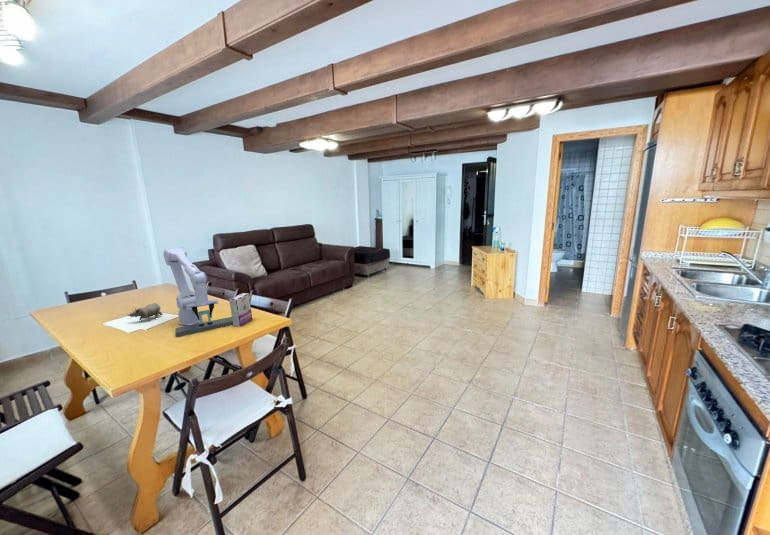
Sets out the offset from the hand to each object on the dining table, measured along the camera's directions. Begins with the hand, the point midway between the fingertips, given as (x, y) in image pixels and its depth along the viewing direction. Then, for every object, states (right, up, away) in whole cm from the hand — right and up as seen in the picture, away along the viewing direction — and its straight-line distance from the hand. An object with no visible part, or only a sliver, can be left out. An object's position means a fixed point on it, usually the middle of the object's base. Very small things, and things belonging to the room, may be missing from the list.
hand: (204, 318), depth 165 cm
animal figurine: (-44, -4, +16) cm, 47 cm away
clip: (0, -2, 0) cm, 2 cm away
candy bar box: (+17, -4, +8) cm, 20 cm away
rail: (0, -6, +1) cm, 6 cm away
